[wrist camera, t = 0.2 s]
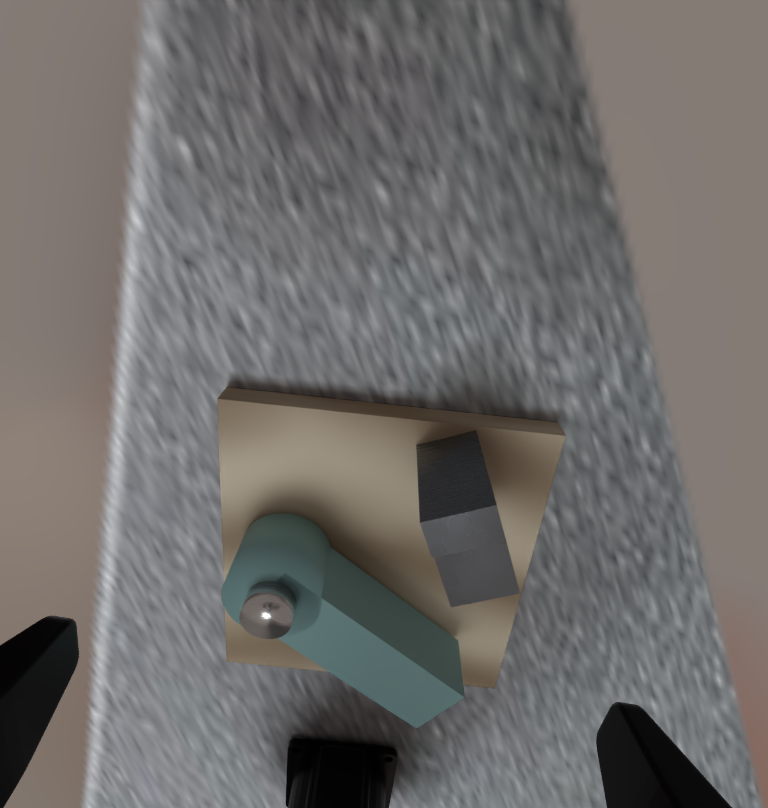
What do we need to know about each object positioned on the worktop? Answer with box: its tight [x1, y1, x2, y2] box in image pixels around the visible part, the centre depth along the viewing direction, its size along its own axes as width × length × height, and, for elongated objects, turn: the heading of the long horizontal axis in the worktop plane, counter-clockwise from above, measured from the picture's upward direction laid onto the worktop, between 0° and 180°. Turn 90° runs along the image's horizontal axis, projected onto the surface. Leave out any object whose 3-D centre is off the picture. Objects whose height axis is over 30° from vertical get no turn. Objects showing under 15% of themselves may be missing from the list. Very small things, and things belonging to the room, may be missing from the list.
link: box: [221, 513, 465, 729], centre depth 23 cm, size 12×4×4 cm, turn 47°
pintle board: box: [217, 387, 565, 688], centre depth 22 cm, size 15×14×6 cm
